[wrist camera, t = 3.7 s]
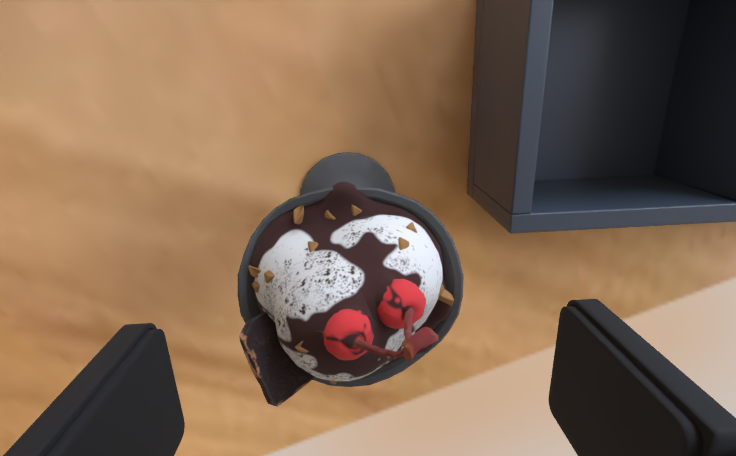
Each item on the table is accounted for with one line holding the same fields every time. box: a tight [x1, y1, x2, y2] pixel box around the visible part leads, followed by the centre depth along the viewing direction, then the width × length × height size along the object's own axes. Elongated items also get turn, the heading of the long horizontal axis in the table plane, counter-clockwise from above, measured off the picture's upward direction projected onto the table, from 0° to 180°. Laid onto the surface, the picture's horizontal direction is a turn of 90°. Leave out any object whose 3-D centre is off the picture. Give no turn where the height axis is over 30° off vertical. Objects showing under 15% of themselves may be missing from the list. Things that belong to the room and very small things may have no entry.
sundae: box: [238, 153, 463, 407], centre depth 15 cm, size 7×7×15 cm
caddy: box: [467, 0, 736, 233], centre depth 18 cm, size 10×19×6 cm, turn 92°
